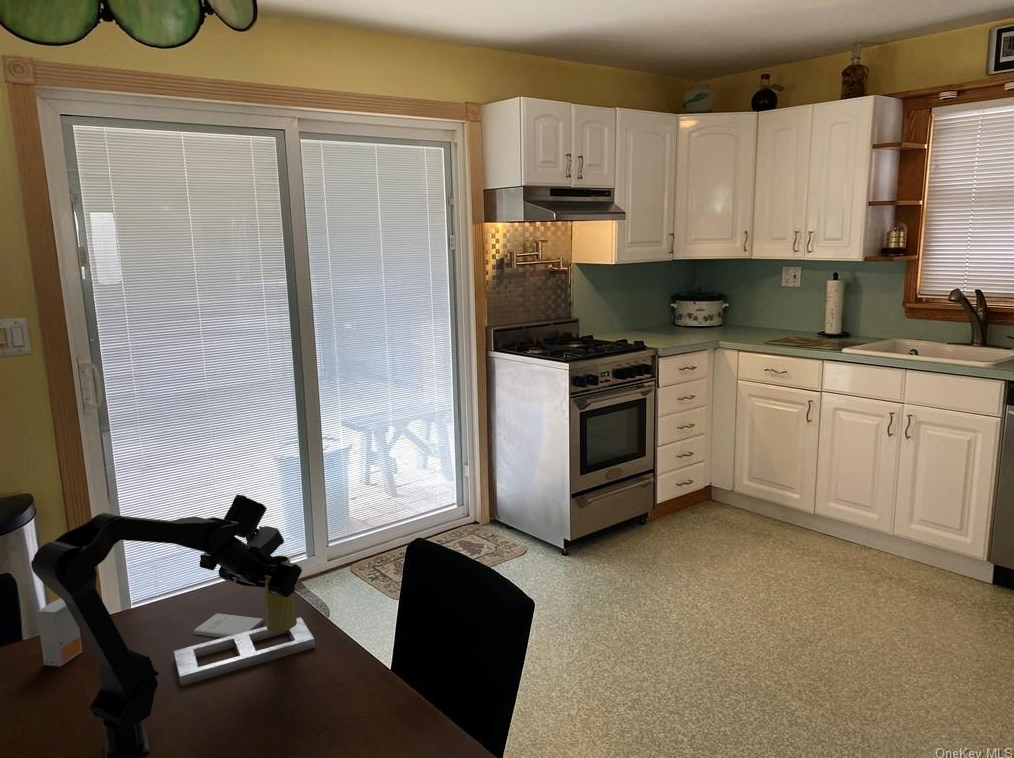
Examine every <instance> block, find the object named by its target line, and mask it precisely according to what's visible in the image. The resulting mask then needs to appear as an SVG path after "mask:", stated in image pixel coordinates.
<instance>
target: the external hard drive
mask: <svg viewBox="0 0 1014 758" xmlns="http://www.w3.org/2000/svg"><path fill="white" fill-rule="evenodd" d="M263 624H265V619H264V618H261V617H260V618H259V617H251V616H241V615H233V614H227V613H226V614H224V613H215V614H214V615H213V616H211V617H209V618H208V619H207V620H206V621H204V622H202V624H200V625H199V626H197V627H195V629H194V630H193V635H197V636H198V635H200V636H206V637H214V638H218V639H221V638H224V637H228V636H232V635H236V634H239V633H243V632H247V631H251V630H255V629H258V628H261V626H262V625H263Z"/></svg>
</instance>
